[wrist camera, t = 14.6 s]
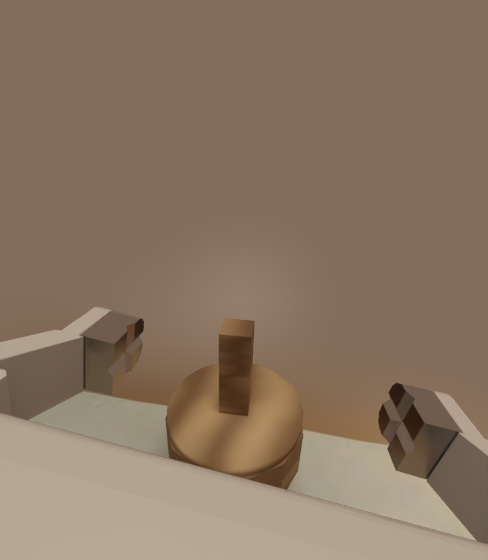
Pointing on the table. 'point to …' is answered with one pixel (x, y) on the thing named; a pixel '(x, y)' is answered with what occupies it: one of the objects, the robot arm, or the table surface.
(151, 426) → the table surface
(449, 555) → the robot arm
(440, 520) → the table surface
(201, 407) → the oak lid
